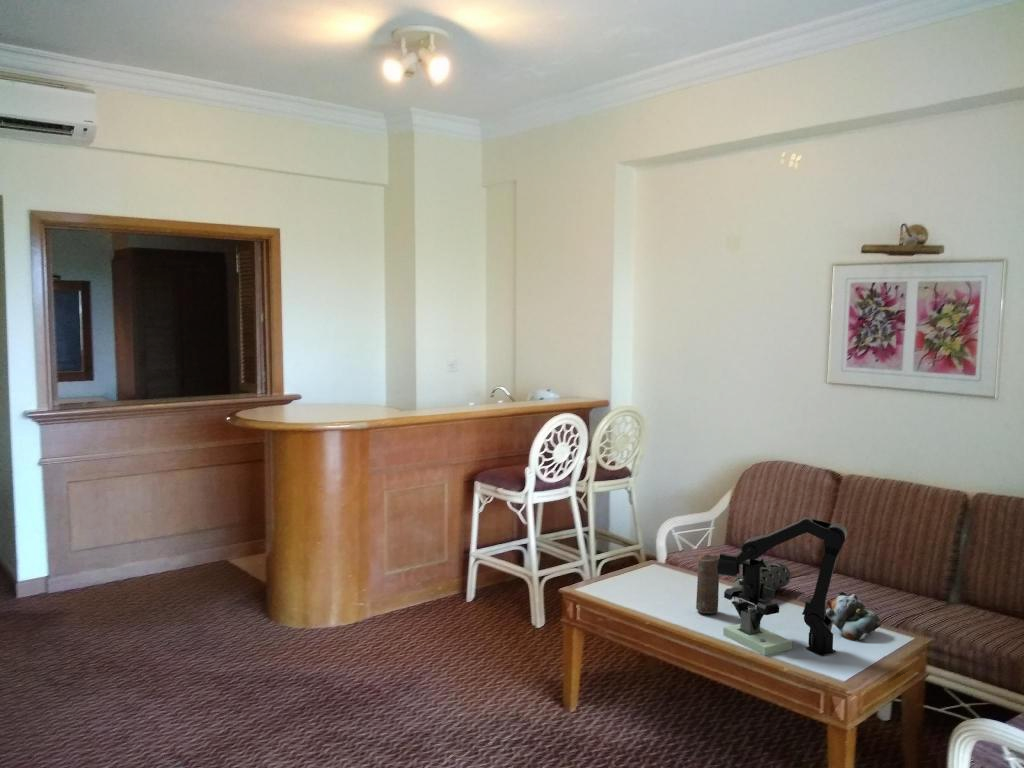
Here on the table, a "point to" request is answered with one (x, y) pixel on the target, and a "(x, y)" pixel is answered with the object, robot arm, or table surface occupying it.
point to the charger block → (748, 623)
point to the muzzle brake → (771, 577)
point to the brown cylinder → (707, 584)
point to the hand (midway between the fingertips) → (750, 627)
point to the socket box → (758, 640)
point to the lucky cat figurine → (851, 616)
